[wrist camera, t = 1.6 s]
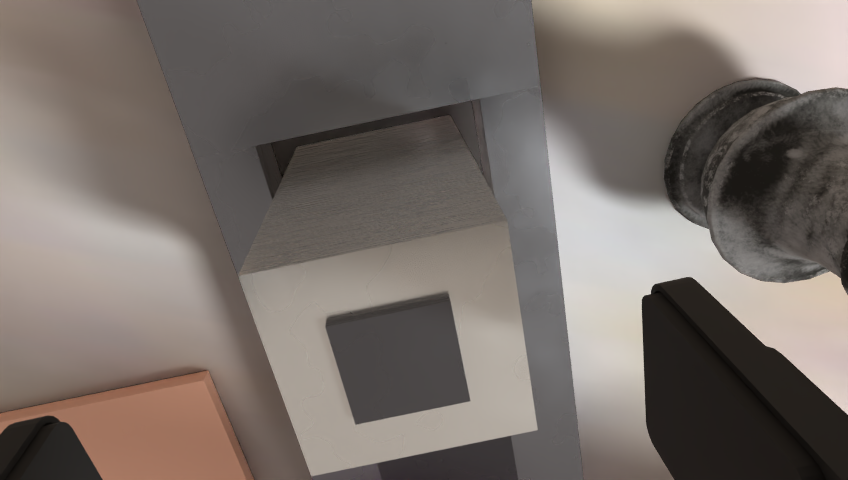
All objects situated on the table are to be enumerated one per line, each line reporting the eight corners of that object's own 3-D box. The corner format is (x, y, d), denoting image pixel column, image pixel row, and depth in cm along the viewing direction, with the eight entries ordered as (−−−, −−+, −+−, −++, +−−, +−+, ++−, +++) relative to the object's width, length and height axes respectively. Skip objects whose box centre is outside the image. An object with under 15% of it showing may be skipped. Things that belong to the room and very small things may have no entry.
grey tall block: (474, 253, 21) (540, 436, 13) (335, 281, 21) (310, 483, 13) (450, 114, 19) (509, 224, 11) (297, 146, 19) (235, 281, 11)
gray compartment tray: (572, 476, 26) (588, 517, 24) (345, 522, 26) (343, 566, 24) (493, -181, 16) (510, -202, 14) (127, -102, 16) (93, -113, 14)
